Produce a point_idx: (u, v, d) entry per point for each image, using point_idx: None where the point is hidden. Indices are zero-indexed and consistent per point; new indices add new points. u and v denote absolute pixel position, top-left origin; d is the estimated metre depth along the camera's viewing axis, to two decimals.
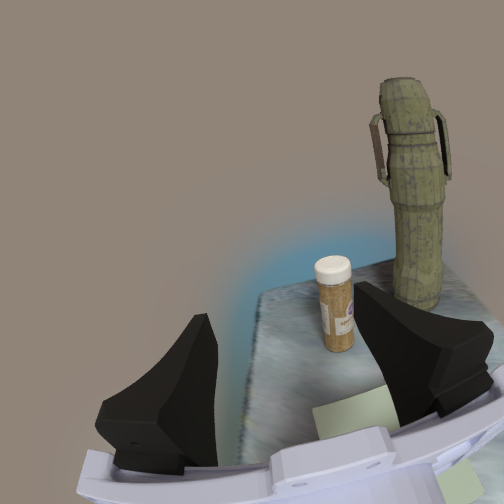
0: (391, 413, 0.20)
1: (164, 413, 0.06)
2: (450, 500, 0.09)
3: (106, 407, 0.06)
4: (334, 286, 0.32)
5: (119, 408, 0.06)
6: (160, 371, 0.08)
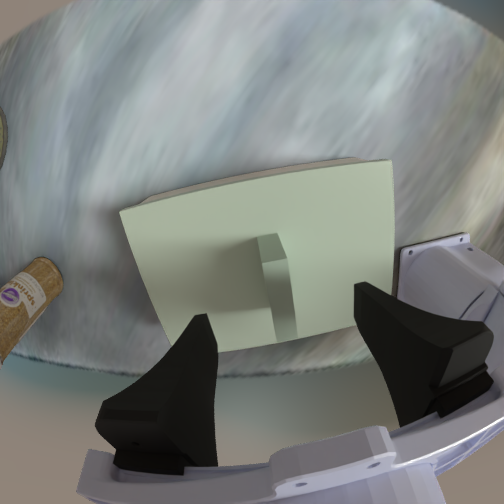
0: (194, 268, 0.17)
1: (164, 413, 0.06)
2: (375, 210, 0.16)
3: (105, 407, 0.06)
4: None
5: (119, 408, 0.06)
6: (160, 371, 0.08)
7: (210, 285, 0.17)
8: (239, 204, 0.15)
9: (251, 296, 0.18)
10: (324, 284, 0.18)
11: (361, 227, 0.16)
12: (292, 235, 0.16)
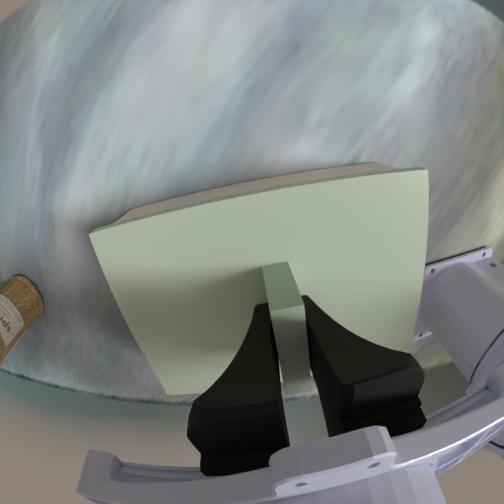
0: (183, 303, 0.13)
1: (278, 402, 0.06)
2: (406, 231, 0.12)
3: (205, 407, 0.06)
4: None
5: (223, 405, 0.06)
6: (246, 362, 0.08)
7: (203, 323, 0.14)
8: (239, 225, 0.12)
9: None
10: (342, 319, 0.14)
11: (389, 252, 0.13)
12: (306, 264, 0.13)
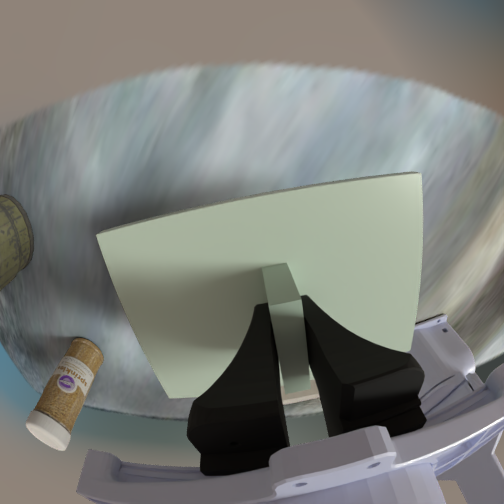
0: (186, 304, 0.14)
1: (278, 402, 0.06)
2: (402, 233, 0.13)
3: (205, 407, 0.06)
4: (68, 429, 0.17)
5: (223, 405, 0.06)
6: (246, 362, 0.08)
7: (205, 323, 0.14)
8: (240, 227, 0.12)
9: None
10: (341, 321, 0.14)
11: (386, 254, 0.13)
12: (305, 265, 0.13)
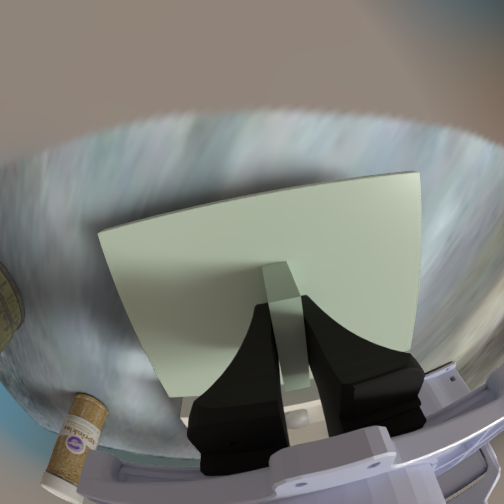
0: (186, 302, 0.14)
1: (278, 403, 0.06)
2: (400, 232, 0.13)
3: (205, 407, 0.06)
4: None
5: (223, 405, 0.06)
6: (246, 362, 0.08)
7: (205, 322, 0.14)
8: (240, 226, 0.12)
9: None
10: (340, 319, 0.14)
11: (385, 252, 0.13)
12: (304, 263, 0.13)
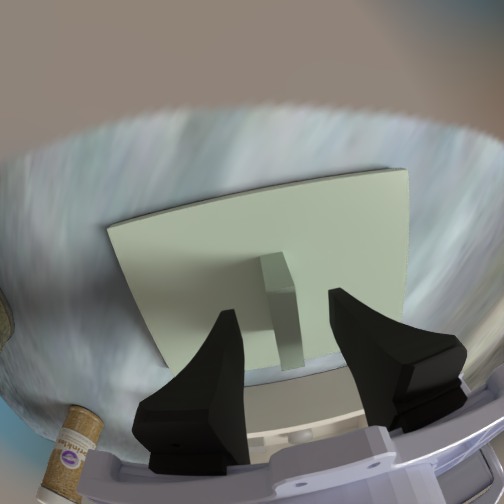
0: (191, 290, 0.15)
1: (212, 411, 0.06)
2: (389, 225, 0.14)
3: (145, 409, 0.06)
4: (78, 503, 0.12)
5: (161, 409, 0.06)
6: (196, 368, 0.08)
7: (209, 307, 0.16)
8: (239, 220, 0.14)
9: (253, 318, 0.16)
10: None
11: (374, 243, 0.15)
12: (299, 254, 0.15)
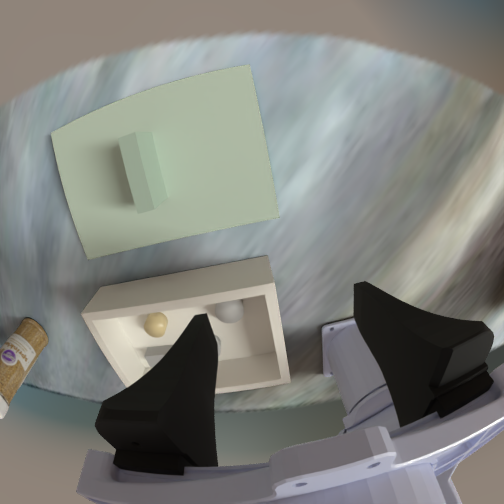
0: (95, 169, 0.18)
1: (164, 413, 0.06)
2: (237, 106, 0.17)
3: (105, 407, 0.06)
4: (5, 398, 0.15)
5: (119, 408, 0.06)
6: (160, 371, 0.08)
7: (106, 182, 0.19)
8: (124, 114, 0.17)
9: None
10: (197, 177, 0.19)
11: (225, 122, 0.18)
12: (163, 133, 0.18)
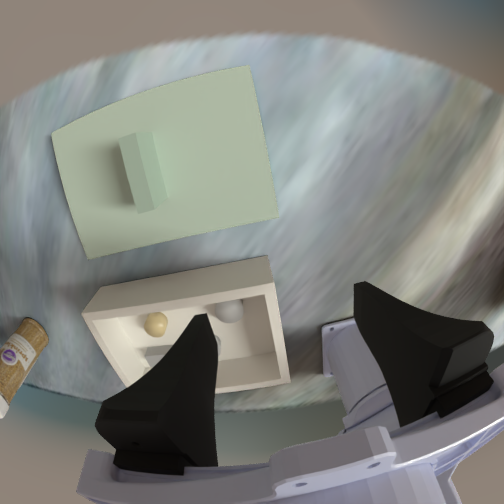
0: (95, 169, 0.18)
1: (164, 413, 0.06)
2: (237, 107, 0.17)
3: (106, 407, 0.06)
4: (5, 398, 0.15)
5: (119, 408, 0.06)
6: (160, 371, 0.08)
7: (106, 183, 0.19)
8: (124, 114, 0.17)
9: None
10: (197, 177, 0.19)
11: (225, 122, 0.18)
12: (163, 133, 0.18)
